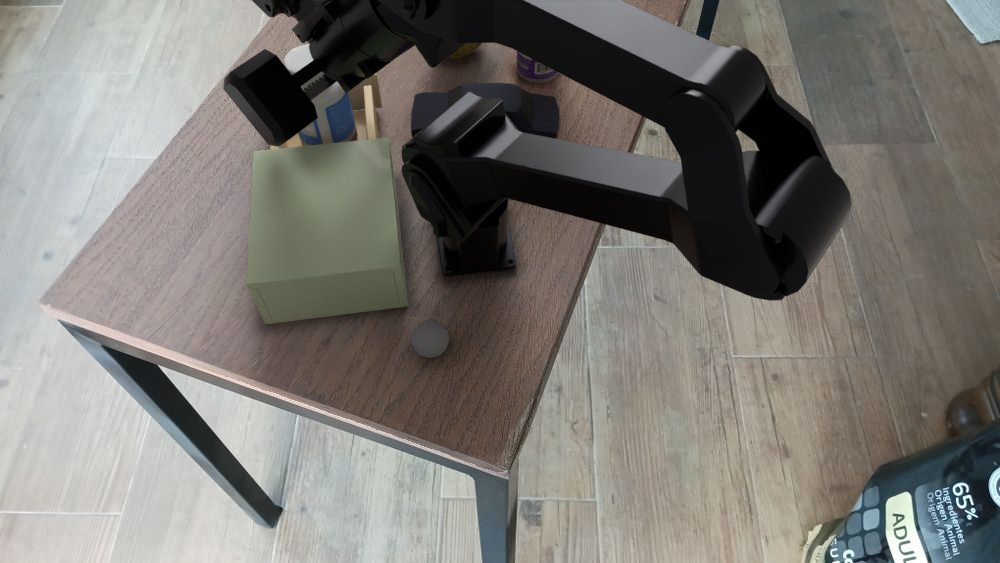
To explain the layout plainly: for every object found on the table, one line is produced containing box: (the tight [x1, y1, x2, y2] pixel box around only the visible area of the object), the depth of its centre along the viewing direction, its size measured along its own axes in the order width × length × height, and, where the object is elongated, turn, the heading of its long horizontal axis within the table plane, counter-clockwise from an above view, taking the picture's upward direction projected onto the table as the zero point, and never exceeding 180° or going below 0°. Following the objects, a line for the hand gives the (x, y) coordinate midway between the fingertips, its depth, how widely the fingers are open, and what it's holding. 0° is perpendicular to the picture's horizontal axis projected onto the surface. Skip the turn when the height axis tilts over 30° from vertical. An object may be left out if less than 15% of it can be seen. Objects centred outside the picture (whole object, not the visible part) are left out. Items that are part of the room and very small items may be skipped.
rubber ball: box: [410, 319, 450, 359], centre depth 58 cm, size 3×3×3 cm
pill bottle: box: [283, 43, 358, 146], centre depth 66 cm, size 6×5×10 cm
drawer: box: [269, 72, 383, 150], centre depth 70 cm, size 18×11×4 cm, turn 9°
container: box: [516, 51, 559, 84], centre depth 73 cm, size 5×5×15 cm
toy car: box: [410, 82, 561, 139], centre depth 71 cm, size 6×15×5 cm, turn 89°
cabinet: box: [245, 137, 409, 325], centre depth 63 cm, size 14×12×6 cm
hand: (303, 79), depth 65 cm, fingers open, 9 cm apart
